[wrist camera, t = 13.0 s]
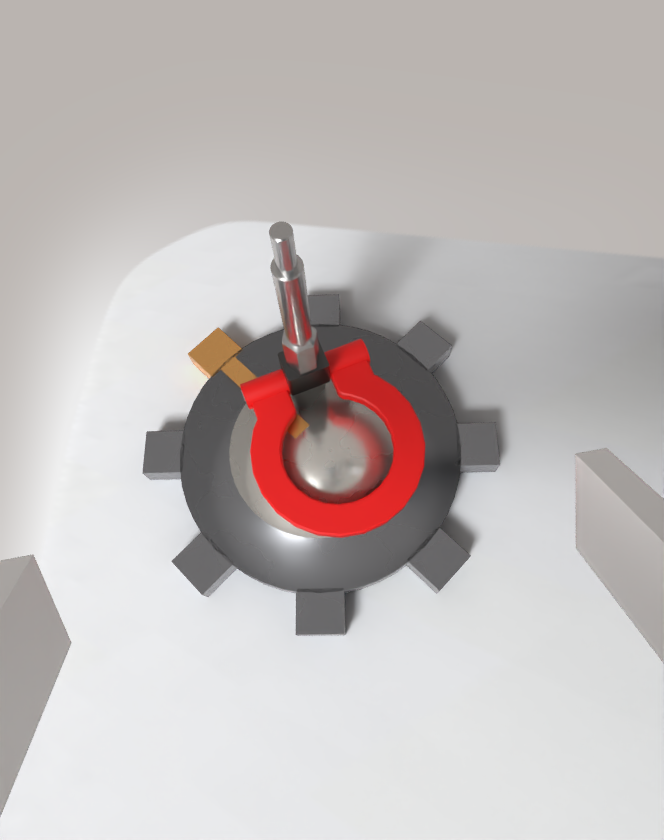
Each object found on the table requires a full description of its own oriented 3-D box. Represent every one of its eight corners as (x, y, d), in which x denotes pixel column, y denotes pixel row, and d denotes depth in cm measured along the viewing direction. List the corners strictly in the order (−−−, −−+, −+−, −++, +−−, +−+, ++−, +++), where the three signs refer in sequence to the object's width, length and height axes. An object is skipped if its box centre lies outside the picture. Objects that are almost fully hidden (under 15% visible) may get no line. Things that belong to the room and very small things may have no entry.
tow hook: (451, 499, 30) (375, 338, 33) (519, 412, 18) (390, 169, 21) (288, 566, 30) (225, 395, 32) (244, 522, 17) (149, 254, 20)
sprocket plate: (476, 301, 35) (480, 288, 34) (512, 632, 29) (518, 631, 28) (165, 311, 36) (159, 299, 35) (135, 637, 30) (125, 637, 28)
